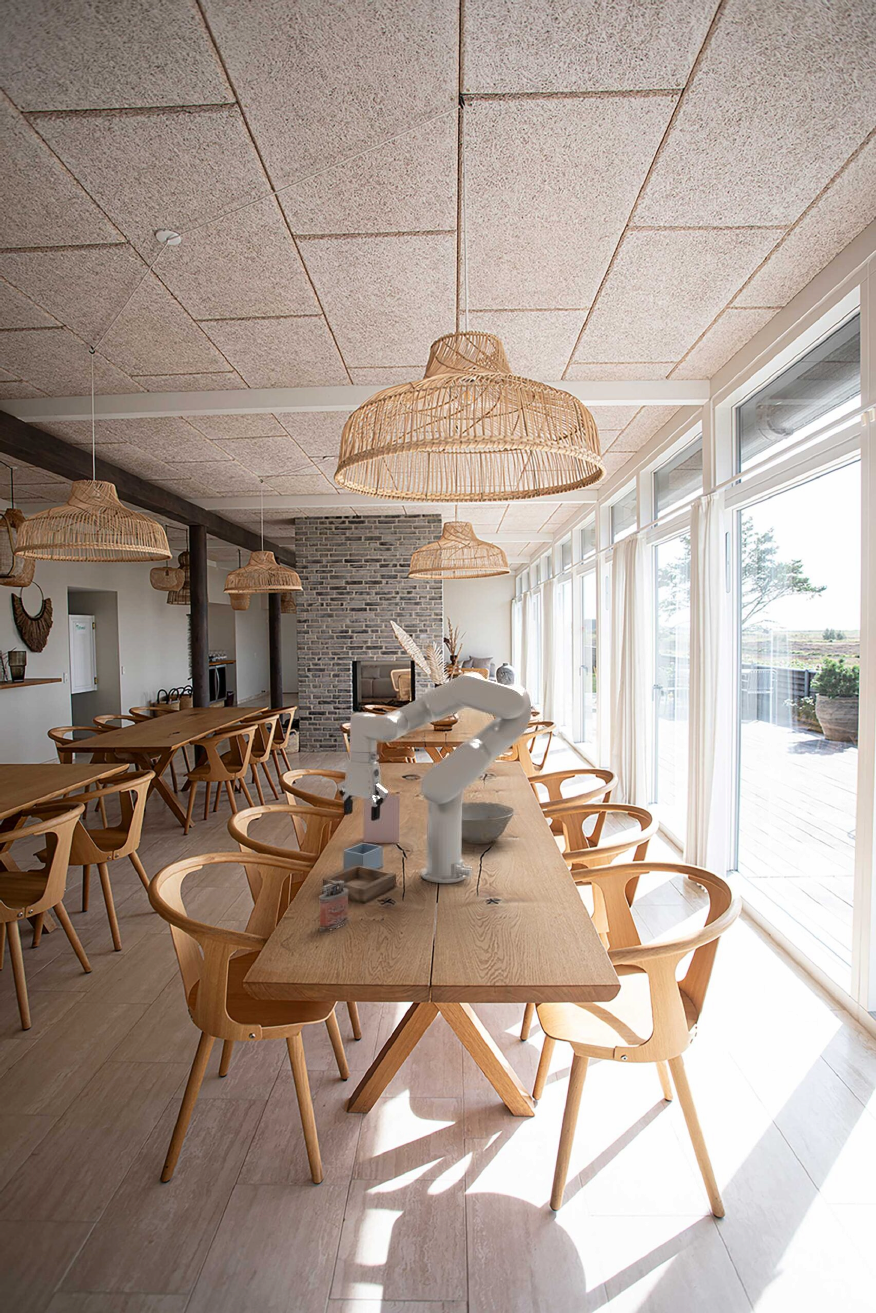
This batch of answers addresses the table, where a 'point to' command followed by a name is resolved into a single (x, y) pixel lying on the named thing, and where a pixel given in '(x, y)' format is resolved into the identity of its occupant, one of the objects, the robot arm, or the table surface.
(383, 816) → the greeting card
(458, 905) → the table surface
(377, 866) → the small crate
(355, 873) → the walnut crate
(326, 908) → the lighter
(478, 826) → the ceramic bowl
